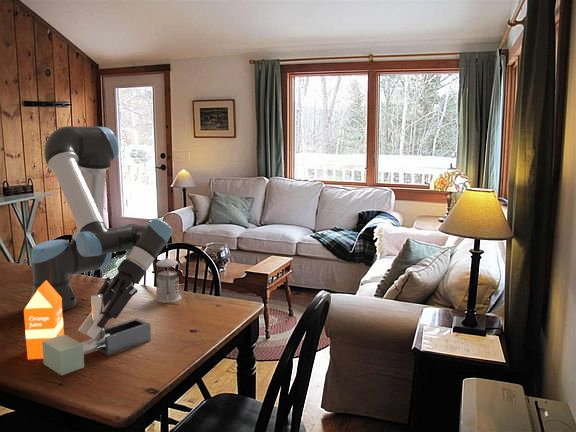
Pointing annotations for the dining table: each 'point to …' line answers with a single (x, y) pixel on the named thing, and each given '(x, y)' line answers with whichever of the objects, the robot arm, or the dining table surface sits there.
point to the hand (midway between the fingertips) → (86, 334)
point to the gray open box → (126, 336)
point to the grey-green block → (63, 354)
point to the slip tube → (96, 308)
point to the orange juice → (42, 319)
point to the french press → (167, 282)
